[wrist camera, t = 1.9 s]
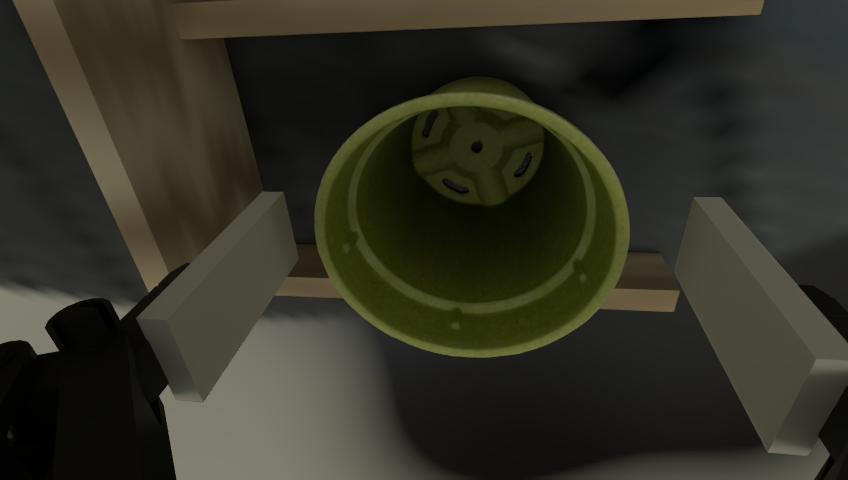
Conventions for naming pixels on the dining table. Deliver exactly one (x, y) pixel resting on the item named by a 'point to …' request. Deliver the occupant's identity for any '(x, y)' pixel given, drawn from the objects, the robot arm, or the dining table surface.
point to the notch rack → (223, 116)
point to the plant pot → (472, 222)
